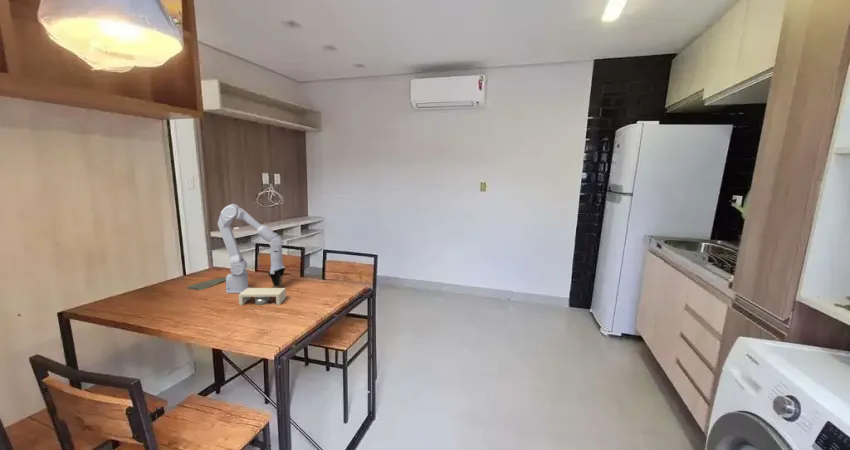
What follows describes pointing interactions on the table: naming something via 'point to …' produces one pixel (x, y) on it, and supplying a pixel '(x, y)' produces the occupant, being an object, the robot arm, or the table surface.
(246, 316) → the table surface
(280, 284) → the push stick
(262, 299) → the steel token
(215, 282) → the stone slab
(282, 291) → the plinth shelf
